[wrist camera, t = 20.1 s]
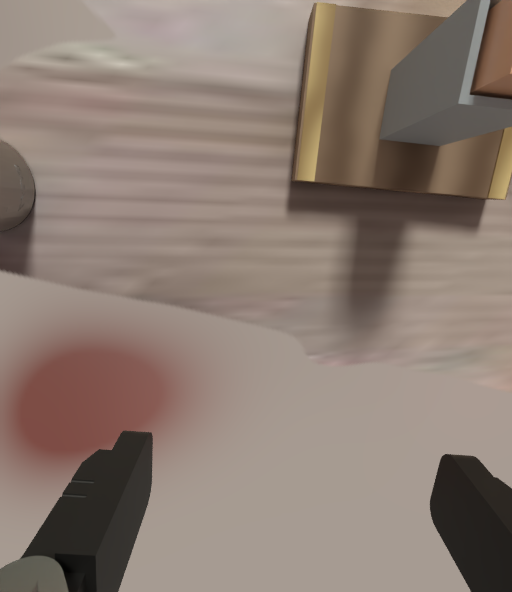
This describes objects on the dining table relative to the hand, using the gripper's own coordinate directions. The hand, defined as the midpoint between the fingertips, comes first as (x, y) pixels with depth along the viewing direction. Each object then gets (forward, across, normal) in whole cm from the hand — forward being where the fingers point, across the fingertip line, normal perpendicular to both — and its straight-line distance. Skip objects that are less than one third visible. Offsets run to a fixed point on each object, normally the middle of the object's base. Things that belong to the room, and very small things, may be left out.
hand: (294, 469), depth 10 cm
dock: (+30, -12, -16) cm, 36 cm away
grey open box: (+27, -12, -16) cm, 34 cm away
